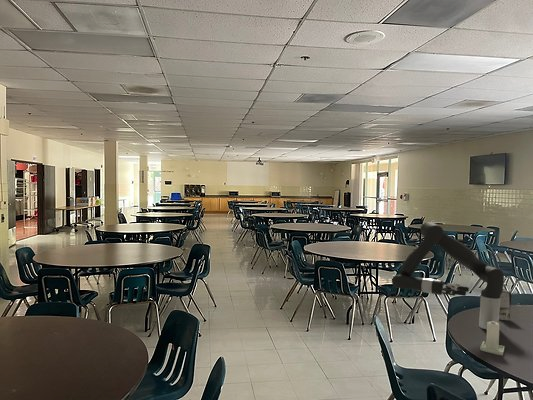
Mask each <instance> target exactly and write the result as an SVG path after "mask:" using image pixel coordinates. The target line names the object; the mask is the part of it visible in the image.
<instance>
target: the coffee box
mask: <svg viewBox="0 0 533 400" xmlns="http://www.w3.org/2000/svg"><path fill="white" fill-rule="evenodd" d="M512 295H513V294H512V292H510V291H509V290H507V289H506V288H505V289H504V288H503V291H502V294H501V296H500V311H499V321H500V320H501V321H510V320H511V319H510V318H511V308H512V307H511V305H512Z"/></svg>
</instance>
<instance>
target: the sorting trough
mask: <svg viewBox="0 0 533 400" xmlns="http://www.w3.org/2000/svg"><path fill="white" fill-rule="evenodd" d="M505 347H506V346H505V345H502V344H501V345H500V344H499V347H498V351H496V350H492V349H487V348H486V341H482V343H481V345H480V349H479V350H480V352H485V353H489V354H494V355H497V356H504V353H505Z"/></svg>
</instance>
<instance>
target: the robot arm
mask: <svg viewBox="0 0 533 400" xmlns="http://www.w3.org/2000/svg"><path fill="white" fill-rule="evenodd" d="M419 232H420V233H421V235H422V237H423V240H422V242H421V243H420V245H419V246H417V247H416V248H415V249H414V250H413V251H412V252H410V254H409V255H408V256H406V259H405V260H404V262H403V263H402V265H401V270H399V273H398V274H396V275H394V276H393V277H392V278H391V284H392V286H393V287H395V288H397V289H402V290H403V289H404V290H412V291H417V292H422V293H427V294H430V295H431V294H432V295H438V296H442V295H447V296H453V297H455V296H457V295H458V296H464V297H465V296H467V292H468V293H469V287H468V286H464V285H463V286H462V285H460V284H458V283H452V282H451V283H449V282H447V283H446V284H445V283H444V281H443V280H442V279H435V278H429V277H428V278H426V277H418V276H416V277H415V276H414V273H415V272H416V270H417V269H418V268H419V266H420V264H421V263H422V262H423V260H424V259H425V258H426V256H427V255H428V254H429V253H430V251H431V250H432V249H433V248H434V247H435V246H436V245H437V246H439V247H440V248H441V249H442V251H444V252H445V253H446V254H447V255H448V256H450V257H451V258H452V259H454V260H455V261H456V262H457V263H459V264H460V265H462V266H464V267H465V268H467V269H468V270H470V271H471V272H472V273H474V274H475V276H477V277H478V278H479V279H480V280H481V281H482V282H484V283H486V286H485V288H483V289H481V291H480V303H479V306H480V307H479V316H478V317H479V320H478V326H479V328H481V329H484V330H486V331H487V322H491V321H495V322H496V323H499V324H500V320H499V311H500V296H501V294H502V291H503V289H504V282H505V281H504V280H505V275H504V271H502V269H500V268H497V267H494V266H491V265H489V264H486V263H485V262H483V261H482V260H480V259H479V258H478V256H476V253H474V251H473V250H472V249H471V248H469V247H468V246H466V244H463V243H462V242H460V241H459V240H457V239H456V238H454V237H452V236H450V235H448V234H447V233H446V232H444V229H443V228H442V226H440V225H439V224H437V223H435V222H433V221H426V222H423V223H422V224H421V225H420V231H419Z"/></svg>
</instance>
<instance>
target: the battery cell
mask: <svg viewBox="0 0 533 400" xmlns="http://www.w3.org/2000/svg"><path fill="white" fill-rule="evenodd" d="M499 339H500V322H499V323H496V322H495V321H491V322H487V330H486V339H485V340H486V341H485V342H486V348H487V349H492V350H496V351H498V347H499V345H500V343H499V342H500V340H499Z"/></svg>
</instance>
